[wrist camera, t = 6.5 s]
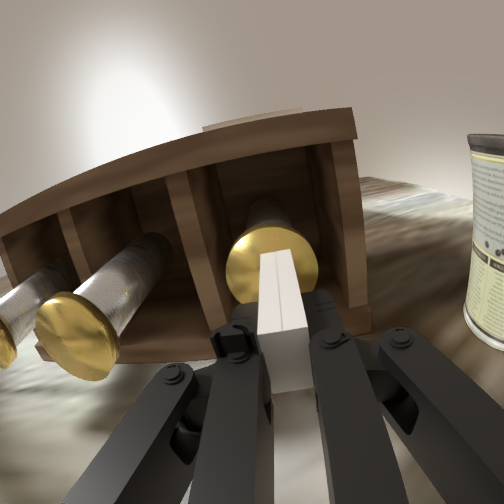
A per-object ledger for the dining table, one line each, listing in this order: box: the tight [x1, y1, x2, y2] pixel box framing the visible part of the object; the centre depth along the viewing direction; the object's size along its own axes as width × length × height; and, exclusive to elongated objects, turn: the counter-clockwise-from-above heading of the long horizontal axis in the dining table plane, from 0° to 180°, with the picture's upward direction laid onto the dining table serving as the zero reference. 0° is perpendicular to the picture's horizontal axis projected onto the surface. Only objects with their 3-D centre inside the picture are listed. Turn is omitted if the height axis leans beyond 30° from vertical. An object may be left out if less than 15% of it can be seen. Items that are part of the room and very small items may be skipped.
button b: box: [35, 232, 173, 381], centre depth 17 cm, size 13×5×5 cm, turn 178°
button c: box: [0, 253, 82, 369], centre depth 18 cm, size 13×5×5 cm, turn 178°
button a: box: [226, 197, 318, 304], centre depth 21 cm, size 13×5×5 cm, turn 178°
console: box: [0, 107, 372, 363], centre depth 25 cm, size 14×33×17 cm, turn 88°
